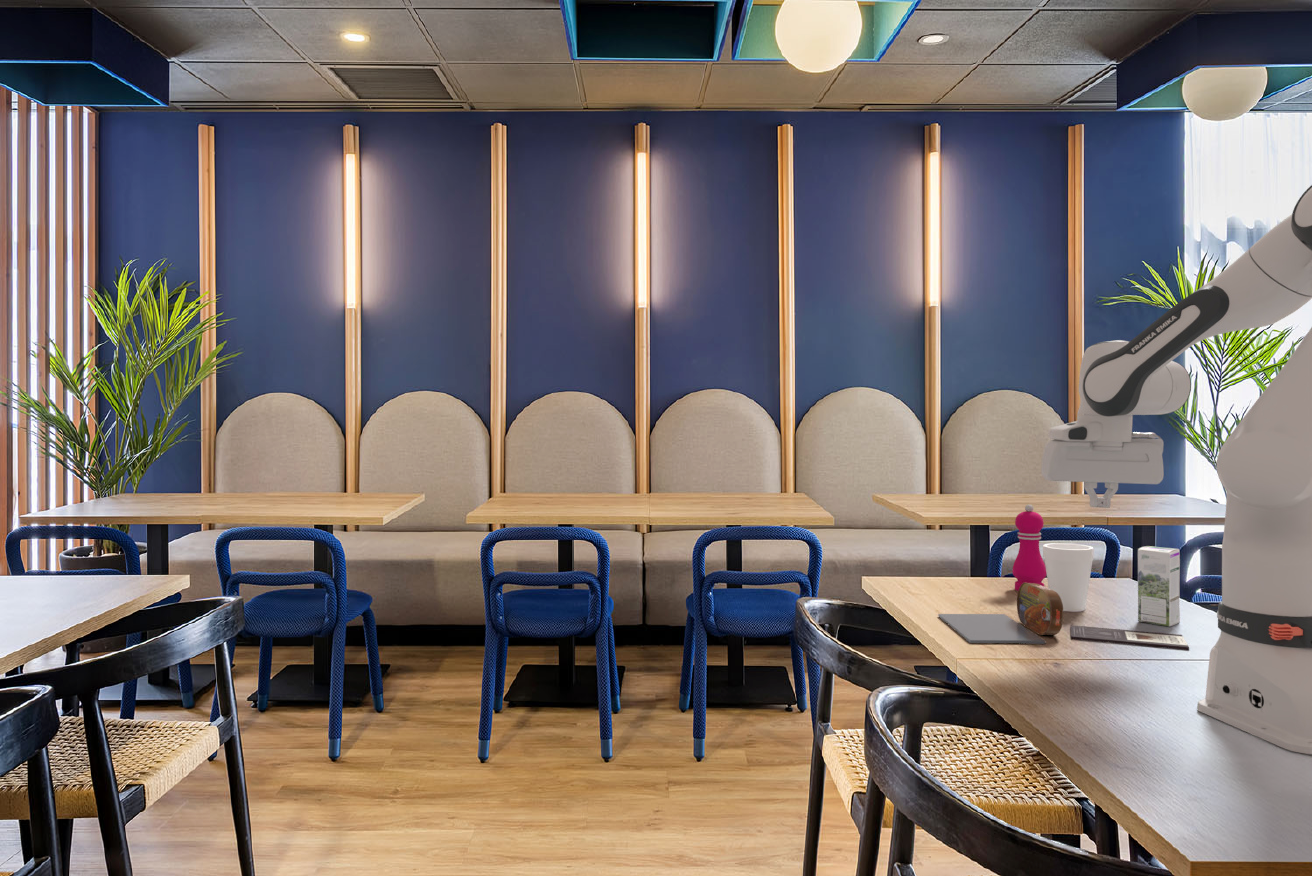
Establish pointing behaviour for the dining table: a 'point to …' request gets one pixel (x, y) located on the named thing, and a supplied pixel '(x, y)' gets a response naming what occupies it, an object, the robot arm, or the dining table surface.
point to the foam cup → (1069, 573)
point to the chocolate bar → (1129, 637)
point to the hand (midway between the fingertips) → (1099, 507)
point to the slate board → (990, 628)
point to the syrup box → (1158, 585)
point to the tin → (1040, 609)
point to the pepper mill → (1029, 549)
